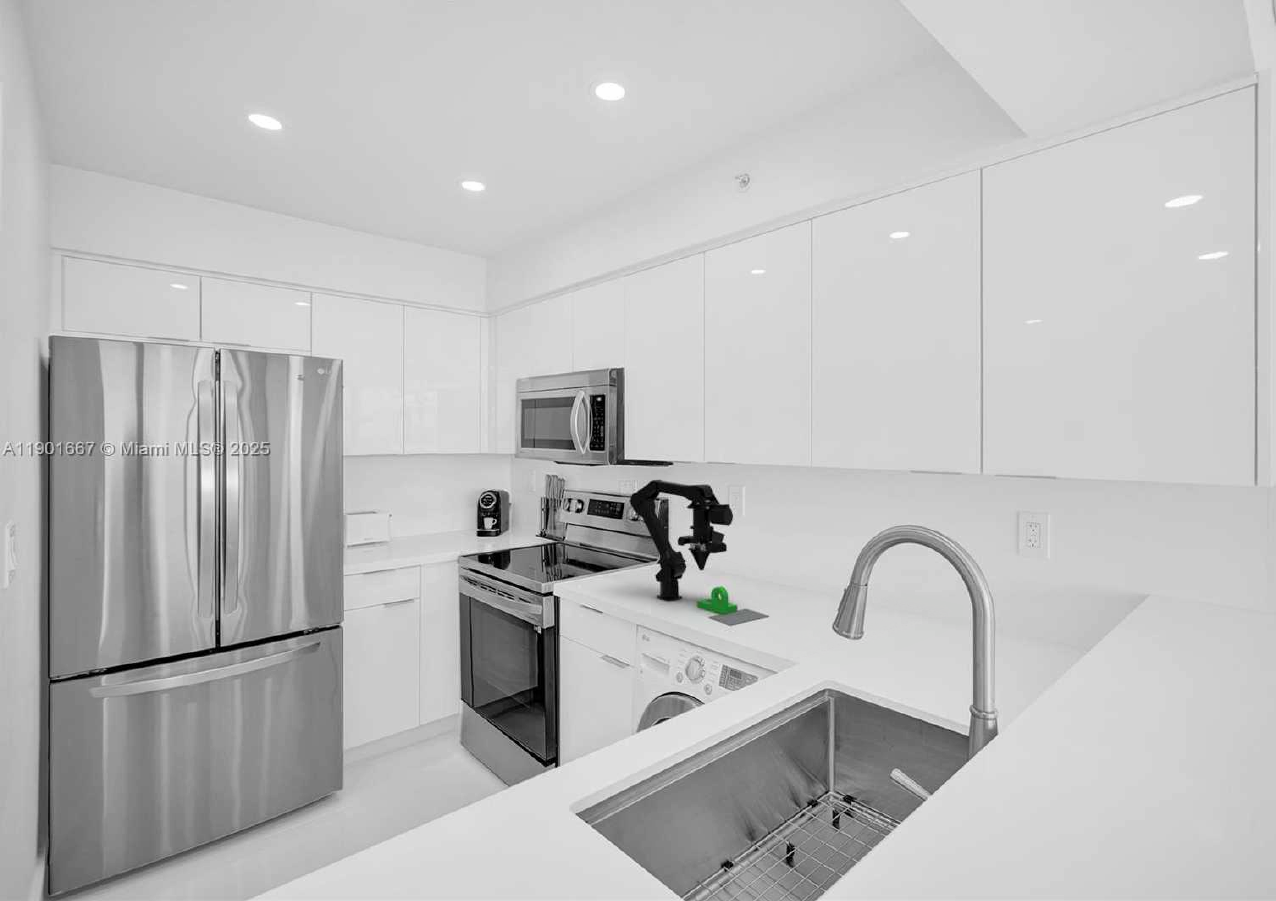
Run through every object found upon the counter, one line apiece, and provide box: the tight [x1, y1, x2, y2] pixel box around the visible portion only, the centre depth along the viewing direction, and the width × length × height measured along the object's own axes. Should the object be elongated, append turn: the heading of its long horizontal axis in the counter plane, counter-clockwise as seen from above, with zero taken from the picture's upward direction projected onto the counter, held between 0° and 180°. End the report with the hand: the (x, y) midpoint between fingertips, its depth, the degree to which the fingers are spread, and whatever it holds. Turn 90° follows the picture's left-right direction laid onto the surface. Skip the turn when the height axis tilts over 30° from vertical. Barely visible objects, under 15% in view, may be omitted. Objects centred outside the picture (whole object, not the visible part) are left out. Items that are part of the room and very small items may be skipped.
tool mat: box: [708, 608, 769, 627], centre depth 190 cm, size 10×16×1 cm, turn 124°
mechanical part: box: [696, 586, 738, 615], centre depth 199 cm, size 12×6×8 cm, turn 39°
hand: (701, 570), depth 205 cm, fingers closed
